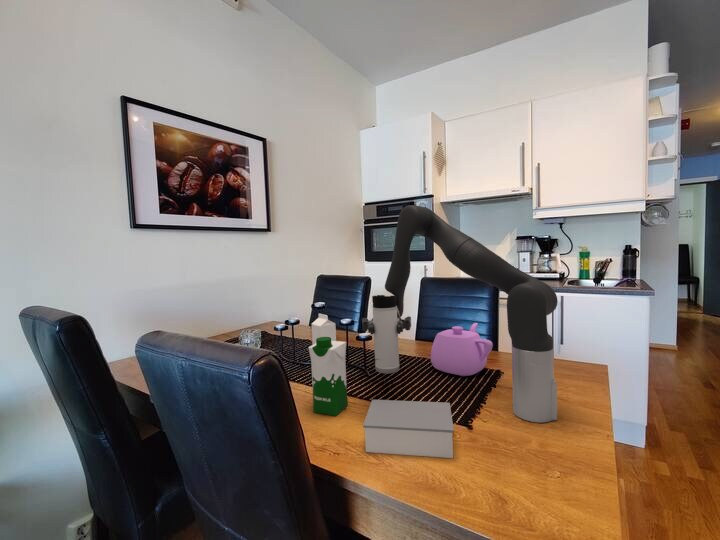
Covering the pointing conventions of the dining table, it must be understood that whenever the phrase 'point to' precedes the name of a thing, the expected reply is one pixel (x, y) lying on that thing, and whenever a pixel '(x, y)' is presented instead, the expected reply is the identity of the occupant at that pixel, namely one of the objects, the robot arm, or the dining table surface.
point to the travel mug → (385, 334)
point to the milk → (323, 328)
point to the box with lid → (409, 428)
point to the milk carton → (328, 376)
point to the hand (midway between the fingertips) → (385, 330)
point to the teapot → (460, 351)
